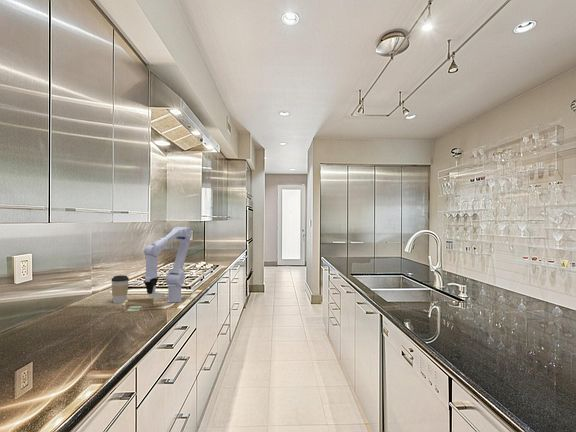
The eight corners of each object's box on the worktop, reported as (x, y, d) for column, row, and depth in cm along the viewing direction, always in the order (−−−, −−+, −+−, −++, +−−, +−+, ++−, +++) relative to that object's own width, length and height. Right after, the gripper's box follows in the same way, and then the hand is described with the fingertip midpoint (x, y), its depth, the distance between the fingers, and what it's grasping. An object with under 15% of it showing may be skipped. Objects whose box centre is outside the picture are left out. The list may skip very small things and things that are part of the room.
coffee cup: (111, 300, 189) (112, 274, 189) (128, 299, 193) (129, 273, 193) (110, 304, 181) (110, 277, 181) (128, 302, 184) (128, 276, 185)
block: (148, 297, 173) (150, 285, 173) (150, 295, 177) (152, 284, 177) (162, 298, 174) (163, 287, 174) (163, 296, 178) (165, 286, 178)
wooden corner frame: (126, 305, 179) (126, 299, 179) (153, 304, 183) (153, 298, 183) (121, 312, 167) (121, 305, 167) (150, 310, 171) (151, 304, 171)
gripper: (147, 265, 182) (147, 289, 181) (139, 269, 167) (138, 296, 167) (160, 265, 183) (160, 289, 182) (153, 269, 168) (153, 295, 168)
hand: (150, 292), depth 175 cm, fingers closed on block, 4 cm apart
